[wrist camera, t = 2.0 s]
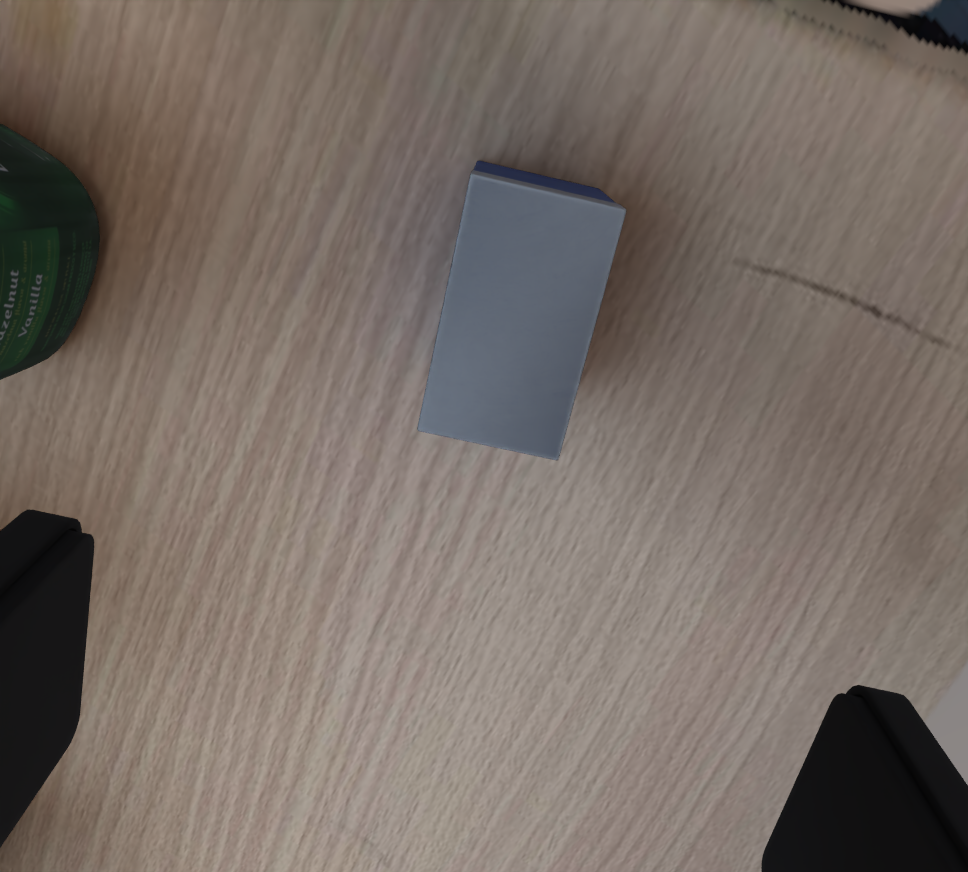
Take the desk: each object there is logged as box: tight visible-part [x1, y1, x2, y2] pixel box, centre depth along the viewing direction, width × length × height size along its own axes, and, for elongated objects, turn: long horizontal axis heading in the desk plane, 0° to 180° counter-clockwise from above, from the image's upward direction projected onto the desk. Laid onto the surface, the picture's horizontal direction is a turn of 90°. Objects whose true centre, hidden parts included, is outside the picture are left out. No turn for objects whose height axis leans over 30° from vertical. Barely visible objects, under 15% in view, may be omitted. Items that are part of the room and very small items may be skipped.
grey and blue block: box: [417, 161, 626, 460], centre depth 26 cm, size 4×7×6 cm, turn 167°
